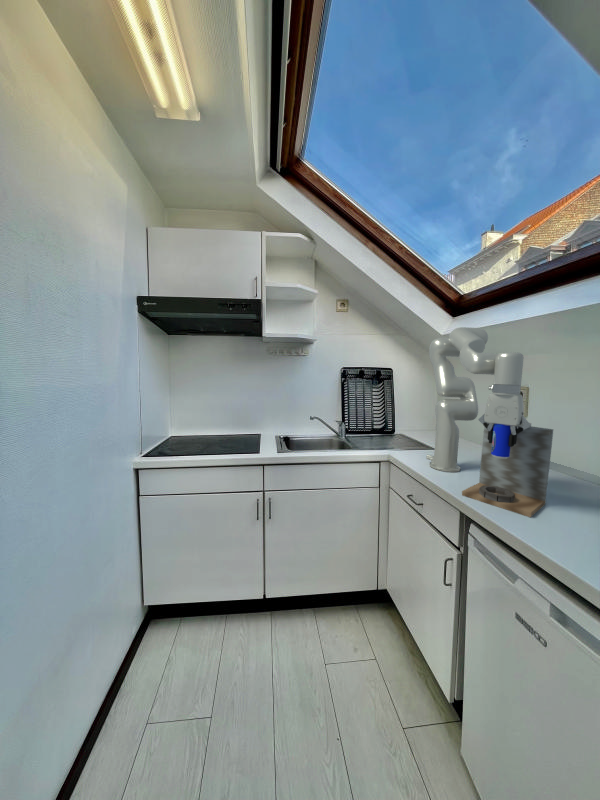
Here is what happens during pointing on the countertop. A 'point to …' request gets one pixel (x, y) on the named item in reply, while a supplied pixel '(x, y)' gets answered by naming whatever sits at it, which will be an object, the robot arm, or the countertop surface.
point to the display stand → (516, 473)
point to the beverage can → (501, 441)
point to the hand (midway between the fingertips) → (501, 443)
